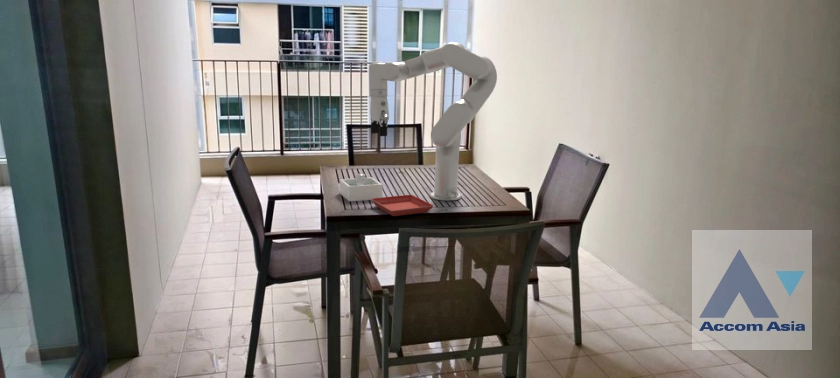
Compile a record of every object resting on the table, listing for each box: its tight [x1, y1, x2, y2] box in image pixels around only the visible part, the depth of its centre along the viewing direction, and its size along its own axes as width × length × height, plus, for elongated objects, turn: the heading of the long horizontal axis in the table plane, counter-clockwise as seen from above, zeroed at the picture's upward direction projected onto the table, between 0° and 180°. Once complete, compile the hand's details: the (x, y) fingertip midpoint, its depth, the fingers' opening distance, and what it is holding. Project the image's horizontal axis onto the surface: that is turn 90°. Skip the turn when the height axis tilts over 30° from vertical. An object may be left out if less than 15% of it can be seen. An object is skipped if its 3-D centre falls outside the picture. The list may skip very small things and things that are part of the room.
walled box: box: [339, 176, 383, 202], centre depth 235 cm, size 14×14×6 cm
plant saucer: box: [370, 194, 434, 217], centre depth 217 cm, size 18×18×3 cm
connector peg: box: [355, 173, 366, 186], centre depth 235 cm, size 4×4×8 cm
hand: (379, 134), depth 240 cm, fingers open, 9 cm apart
